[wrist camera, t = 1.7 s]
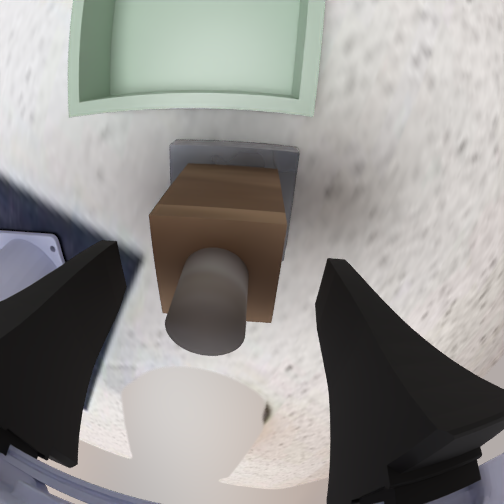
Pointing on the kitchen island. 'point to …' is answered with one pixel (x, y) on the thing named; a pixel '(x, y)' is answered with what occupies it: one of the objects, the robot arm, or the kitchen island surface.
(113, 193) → the kitchen island surface
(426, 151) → the kitchen island surface
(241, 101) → the bin
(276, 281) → the brown square bottle
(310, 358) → the kitchen island surface
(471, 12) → the kitchen island surface
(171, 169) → the stud plate
